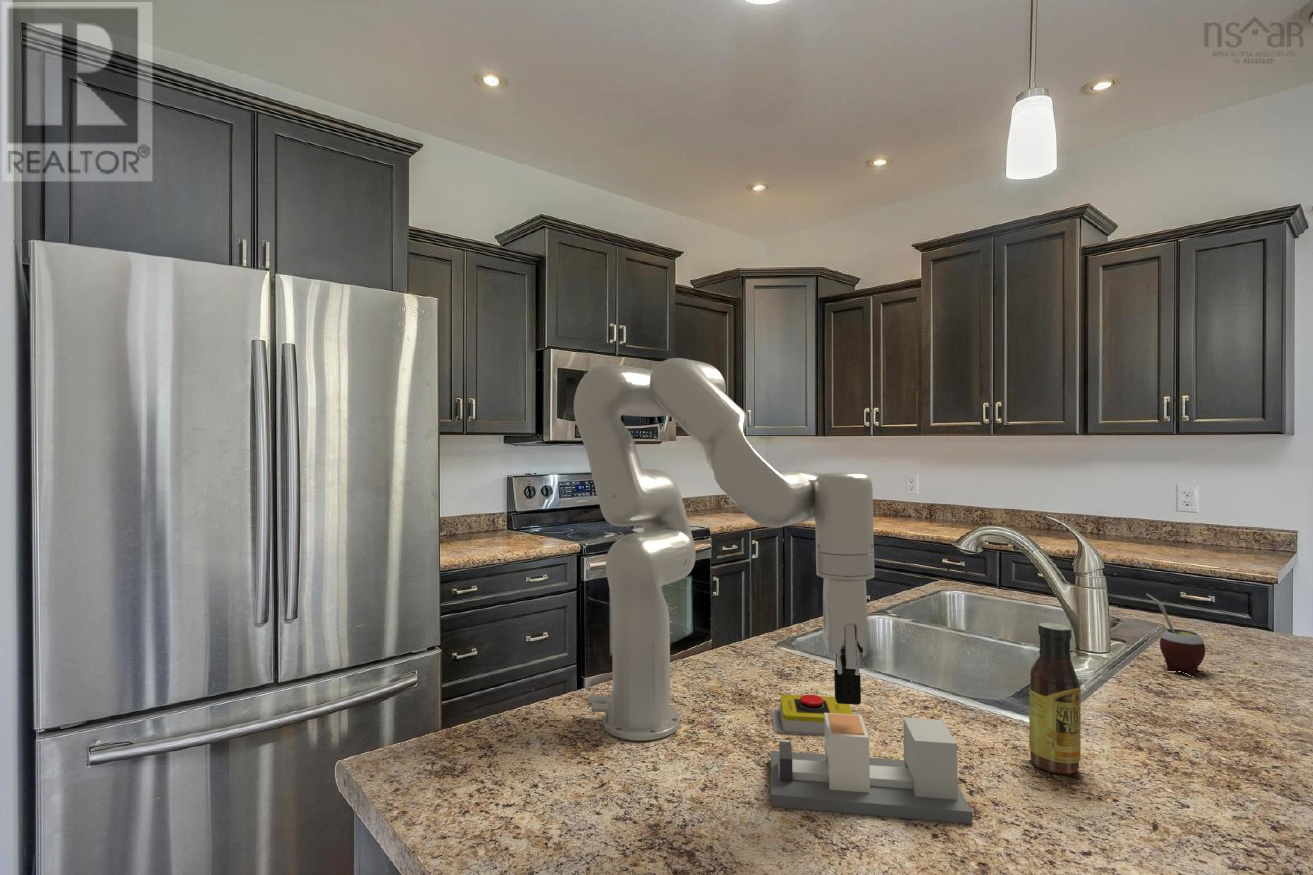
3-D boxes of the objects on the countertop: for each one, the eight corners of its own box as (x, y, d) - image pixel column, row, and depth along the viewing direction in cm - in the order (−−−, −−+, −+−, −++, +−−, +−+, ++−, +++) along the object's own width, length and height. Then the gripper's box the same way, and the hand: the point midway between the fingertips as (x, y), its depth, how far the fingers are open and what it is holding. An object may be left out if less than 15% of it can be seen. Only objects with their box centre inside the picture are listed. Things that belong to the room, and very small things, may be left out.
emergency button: (770, 686, 112) (859, 690, 110) (771, 711, 112) (859, 716, 110) (773, 708, 103) (870, 712, 101) (773, 735, 103) (870, 740, 101)
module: (829, 789, 83) (828, 733, 83) (824, 763, 90) (824, 711, 90) (869, 792, 82) (869, 736, 82) (862, 765, 89) (861, 713, 89)
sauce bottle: (1063, 781, 87) (1061, 635, 88) (1019, 761, 93) (1017, 623, 93) (1091, 770, 90) (1089, 628, 91) (1047, 751, 96) (1045, 618, 96)
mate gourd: (1215, 678, 125) (1213, 601, 125) (1174, 678, 125) (1173, 601, 125) (1184, 665, 133) (1183, 592, 133) (1145, 665, 133) (1144, 592, 133)
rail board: (771, 806, 82) (770, 739, 82) (770, 761, 94) (770, 702, 94) (972, 824, 78) (971, 753, 78) (945, 774, 90) (944, 713, 90)
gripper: (812, 555, 94) (815, 680, 94) (820, 574, 80) (823, 723, 79) (865, 555, 93) (868, 683, 93) (883, 575, 78) (887, 727, 78)
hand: (847, 701), depth 86 cm, fingers closed
